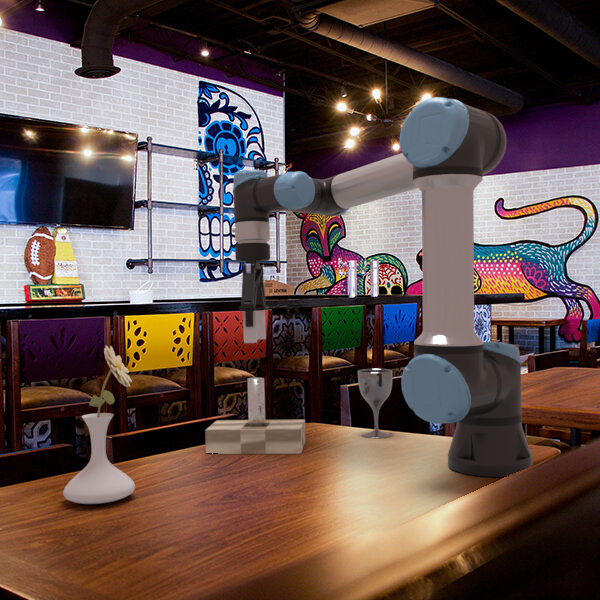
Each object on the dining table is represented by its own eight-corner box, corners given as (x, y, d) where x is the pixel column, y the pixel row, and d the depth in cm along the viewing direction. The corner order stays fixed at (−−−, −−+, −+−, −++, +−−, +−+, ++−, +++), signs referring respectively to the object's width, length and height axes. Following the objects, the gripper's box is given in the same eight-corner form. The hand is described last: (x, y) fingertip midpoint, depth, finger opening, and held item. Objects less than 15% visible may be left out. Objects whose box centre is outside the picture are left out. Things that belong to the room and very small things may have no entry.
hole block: (301, 453, 147) (300, 429, 147) (205, 454, 149) (205, 430, 149) (305, 441, 159) (304, 419, 159) (217, 442, 161) (216, 420, 161)
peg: (264, 449, 152) (262, 379, 152) (248, 449, 152) (246, 379, 152) (266, 445, 155) (265, 377, 155) (250, 446, 156) (248, 377, 156)
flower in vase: (108, 512, 108) (104, 349, 108) (47, 507, 112) (43, 349, 112) (154, 490, 121) (150, 343, 121) (98, 486, 125) (94, 343, 125)
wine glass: (353, 437, 163) (352, 371, 163) (367, 431, 170) (365, 368, 170) (386, 439, 159) (384, 372, 159) (398, 433, 166) (397, 369, 166)
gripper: (244, 247, 167) (247, 338, 166) (224, 238, 142) (227, 344, 142) (276, 246, 166) (279, 337, 166) (261, 237, 141) (265, 344, 141)
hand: (255, 341), depth 154 cm, fingers open, 13 cm apart
